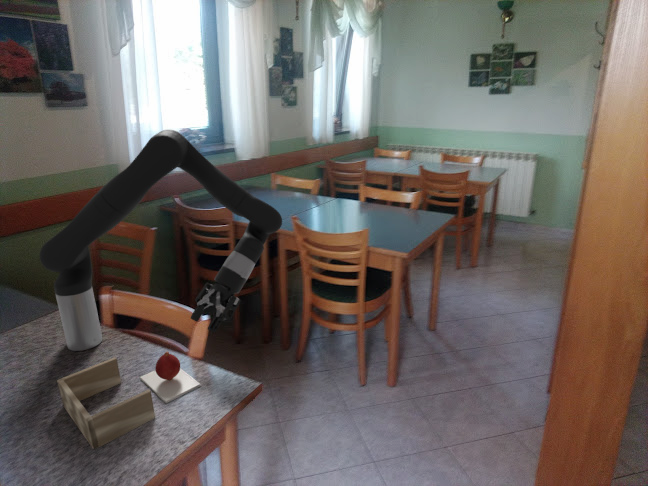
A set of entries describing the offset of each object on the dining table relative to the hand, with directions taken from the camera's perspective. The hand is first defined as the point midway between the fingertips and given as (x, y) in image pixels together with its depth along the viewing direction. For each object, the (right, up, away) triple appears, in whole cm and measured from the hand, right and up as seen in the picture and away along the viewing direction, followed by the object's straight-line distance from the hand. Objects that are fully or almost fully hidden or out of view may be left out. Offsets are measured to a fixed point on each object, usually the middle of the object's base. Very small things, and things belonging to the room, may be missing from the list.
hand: (202, 325), depth 114 cm
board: (-7, -14, -4) cm, 16 cm away
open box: (-18, -17, -14) cm, 28 cm away
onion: (-7, -13, -4) cm, 15 cm away
